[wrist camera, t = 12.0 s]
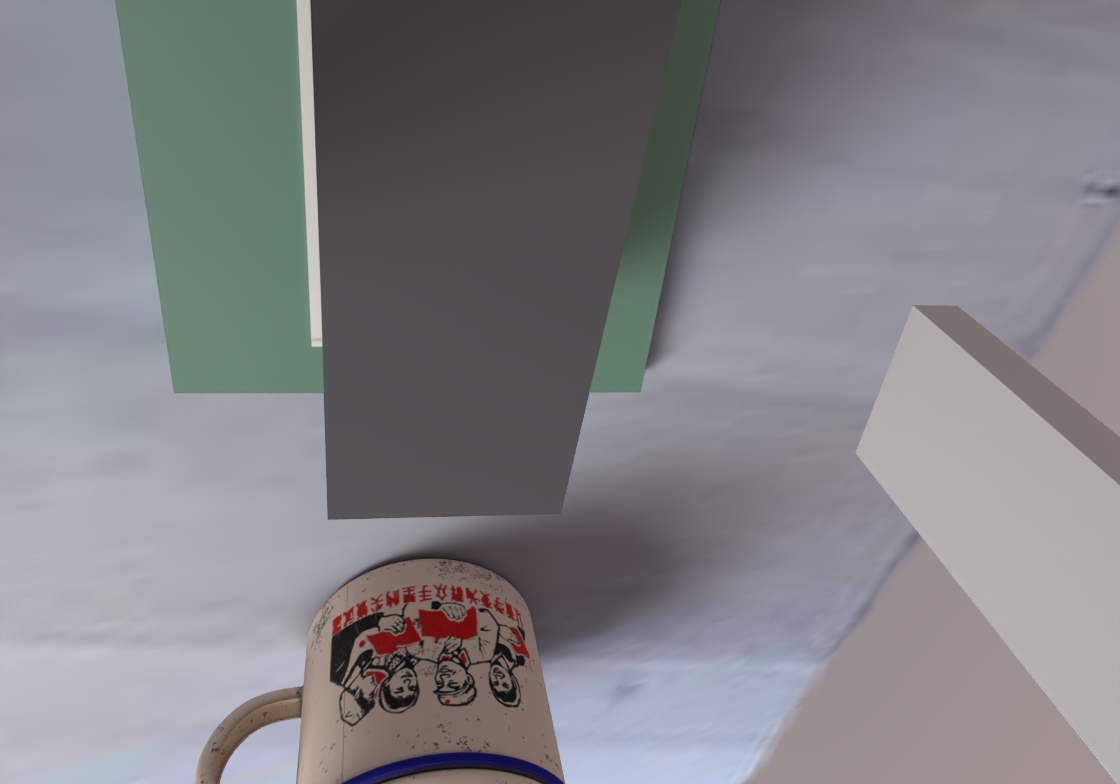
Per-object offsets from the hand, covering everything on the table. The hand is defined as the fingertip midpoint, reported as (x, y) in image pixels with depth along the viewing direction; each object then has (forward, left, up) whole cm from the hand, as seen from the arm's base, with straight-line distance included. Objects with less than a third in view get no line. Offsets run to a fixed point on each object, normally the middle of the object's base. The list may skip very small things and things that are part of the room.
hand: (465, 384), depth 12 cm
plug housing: (0, +3, -11) cm, 11 cm away
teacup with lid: (-1, -20, -13) cm, 24 cm away
